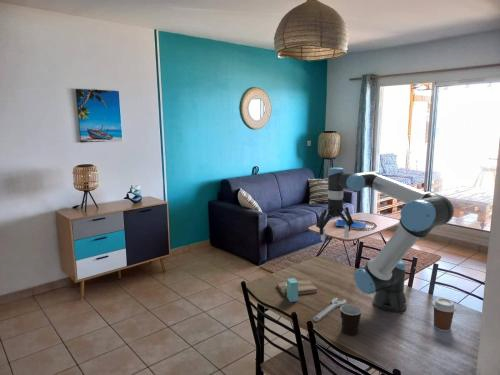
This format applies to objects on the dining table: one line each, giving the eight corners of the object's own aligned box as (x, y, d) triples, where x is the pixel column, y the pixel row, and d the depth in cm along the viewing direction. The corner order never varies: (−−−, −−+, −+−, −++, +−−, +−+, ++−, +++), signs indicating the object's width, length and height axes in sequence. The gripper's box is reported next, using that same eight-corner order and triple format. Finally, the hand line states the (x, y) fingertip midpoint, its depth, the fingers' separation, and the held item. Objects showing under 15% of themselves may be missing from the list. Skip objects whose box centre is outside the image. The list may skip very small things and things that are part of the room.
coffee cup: (441, 319, 163) (443, 294, 161) (459, 330, 155) (461, 304, 152) (425, 323, 160) (427, 298, 158) (442, 335, 152) (445, 308, 149)
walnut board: (317, 292, 189) (317, 288, 189) (284, 296, 185) (284, 292, 185) (308, 282, 201) (308, 279, 200) (276, 286, 197) (277, 282, 196)
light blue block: (297, 301, 181) (298, 282, 179) (290, 302, 180) (290, 283, 178) (290, 291, 191) (290, 273, 189) (282, 292, 190) (283, 274, 188)
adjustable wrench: (317, 323, 162) (317, 320, 161) (305, 318, 166) (305, 314, 166) (348, 303, 178) (348, 300, 178) (336, 299, 183) (337, 295, 183)
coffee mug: (357, 339, 149) (358, 317, 147) (336, 333, 153) (337, 311, 152) (364, 326, 159) (365, 304, 157) (345, 320, 163) (346, 299, 161)
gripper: (352, 195, 190) (351, 234, 193) (309, 199, 183) (309, 239, 186) (361, 197, 183) (360, 238, 186) (316, 201, 175) (316, 244, 179)
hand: (334, 239), depth 186 cm, fingers open, 13 cm apart
